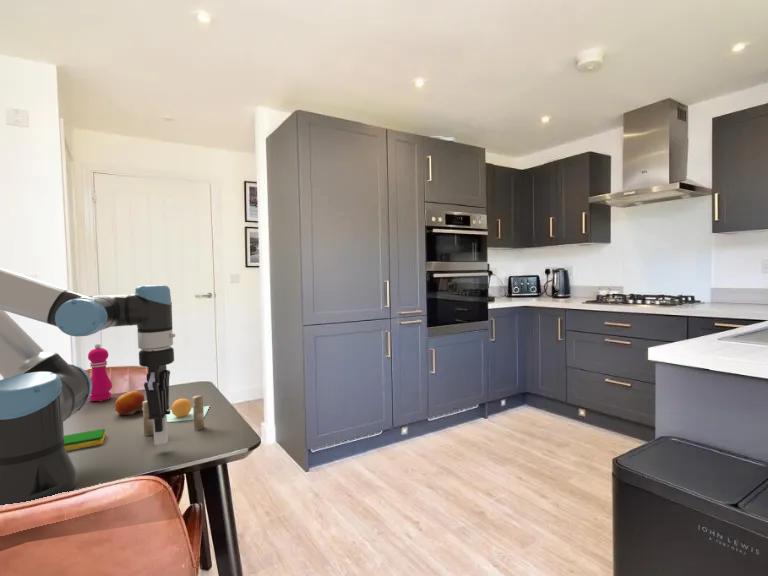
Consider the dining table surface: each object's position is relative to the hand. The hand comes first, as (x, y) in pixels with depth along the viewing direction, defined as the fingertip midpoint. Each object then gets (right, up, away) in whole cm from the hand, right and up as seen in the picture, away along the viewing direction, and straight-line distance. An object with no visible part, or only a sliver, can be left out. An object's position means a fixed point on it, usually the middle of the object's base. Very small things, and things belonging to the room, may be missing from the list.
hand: (161, 442), depth 101 cm
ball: (-7, +2, +24) cm, 25 cm away
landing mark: (-6, -1, +26) cm, 27 cm away
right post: (+3, -1, +14) cm, 15 cm away
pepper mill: (-46, -2, +45) cm, 65 cm away
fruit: (-26, -2, +30) cm, 39 cm away
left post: (-9, -2, +11) cm, 15 cm away
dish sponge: (-26, -3, +5) cm, 27 cm away
